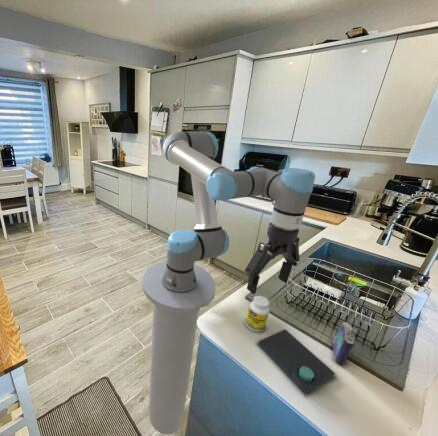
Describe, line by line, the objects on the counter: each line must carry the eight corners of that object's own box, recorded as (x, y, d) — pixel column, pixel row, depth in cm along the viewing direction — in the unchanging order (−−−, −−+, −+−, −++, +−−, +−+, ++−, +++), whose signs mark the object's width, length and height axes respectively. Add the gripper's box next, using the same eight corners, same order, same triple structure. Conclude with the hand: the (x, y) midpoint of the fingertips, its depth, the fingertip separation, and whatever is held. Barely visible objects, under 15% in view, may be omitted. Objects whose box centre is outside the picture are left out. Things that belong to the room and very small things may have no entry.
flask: (332, 339, 79) (344, 316, 74) (343, 344, 77) (356, 320, 73) (333, 362, 71) (347, 337, 67) (346, 368, 70) (360, 343, 66)
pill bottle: (242, 326, 83) (249, 302, 78) (247, 315, 87) (253, 291, 83) (262, 335, 80) (269, 310, 75) (265, 323, 84) (273, 299, 80)
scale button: (296, 372, 66) (297, 368, 65) (303, 368, 67) (305, 364, 66) (307, 383, 63) (308, 380, 63) (315, 378, 64) (316, 375, 64)
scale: (256, 344, 76) (258, 338, 75) (284, 332, 81) (286, 325, 80) (305, 397, 63) (309, 390, 61) (335, 378, 67) (339, 371, 66)
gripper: (262, 239, 59) (245, 304, 68) (326, 223, 69) (305, 282, 77) (240, 226, 66) (227, 288, 74) (302, 213, 75) (284, 269, 84)
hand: (267, 285), depth 76 cm, fingers open, 13 cm apart
